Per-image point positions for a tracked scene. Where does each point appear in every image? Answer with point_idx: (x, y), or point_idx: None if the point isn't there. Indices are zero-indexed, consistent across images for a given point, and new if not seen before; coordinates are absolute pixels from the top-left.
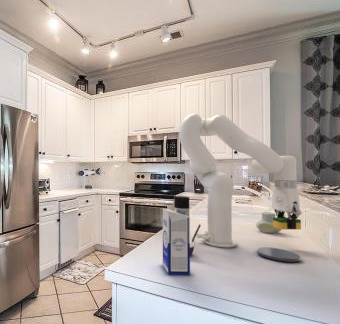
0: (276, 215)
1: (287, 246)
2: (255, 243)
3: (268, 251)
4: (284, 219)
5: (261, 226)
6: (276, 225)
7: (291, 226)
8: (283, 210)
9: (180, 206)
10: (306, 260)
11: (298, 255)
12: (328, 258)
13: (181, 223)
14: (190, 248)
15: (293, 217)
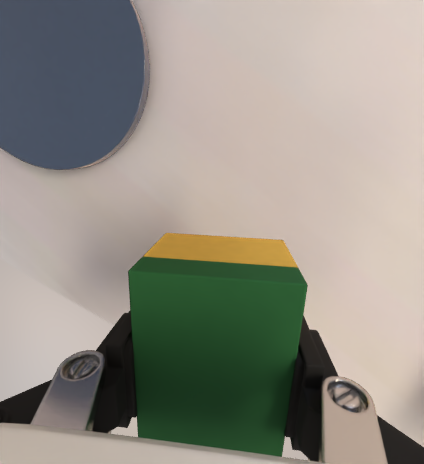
0: (354, 387)
1: None
2: (311, 112)
3: (57, 11)
4: (155, 329)
5: None
6: (232, 244)
7: (127, 313)
8: (34, 447)
9: None
10: (33, 186)
11: (18, 154)
12: (77, 303)
13: None
14: None
15: (23, 392)
